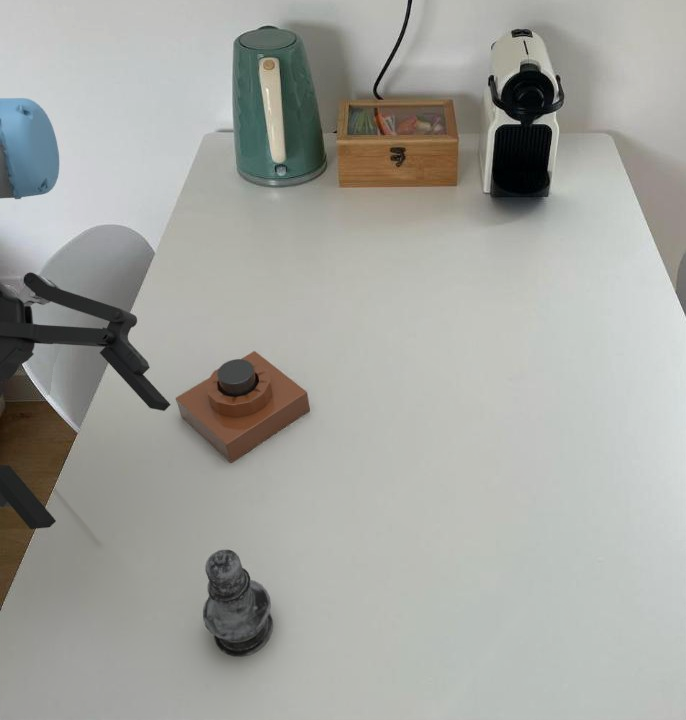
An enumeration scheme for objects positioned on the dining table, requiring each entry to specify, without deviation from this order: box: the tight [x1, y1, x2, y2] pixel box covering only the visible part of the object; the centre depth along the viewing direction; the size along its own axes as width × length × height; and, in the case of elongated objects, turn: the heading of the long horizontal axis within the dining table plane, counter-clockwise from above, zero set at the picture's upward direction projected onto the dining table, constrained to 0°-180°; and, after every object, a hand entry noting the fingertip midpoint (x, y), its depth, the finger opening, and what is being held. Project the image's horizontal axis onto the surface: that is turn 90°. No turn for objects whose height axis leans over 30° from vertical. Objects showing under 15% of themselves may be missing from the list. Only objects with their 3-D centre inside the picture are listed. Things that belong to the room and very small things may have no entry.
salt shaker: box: [202, 549, 274, 658], centre depth 69 cm, size 6×6×12 cm
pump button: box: [217, 358, 257, 397], centre depth 89 cm, size 4×4×2 cm
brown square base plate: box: [175, 350, 311, 463], centre depth 91 cm, size 11×10×5 cm
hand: (102, 466), depth 66 cm, fingers open, 13 cm apart
